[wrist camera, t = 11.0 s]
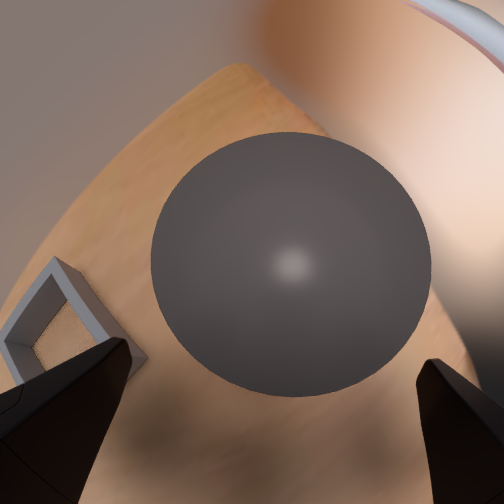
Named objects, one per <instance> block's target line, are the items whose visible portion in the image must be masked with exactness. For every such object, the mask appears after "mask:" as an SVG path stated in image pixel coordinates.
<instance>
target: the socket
mask: <svg viewBox="0 0 504 504" xmlns="http://www.w3.org/2000/svg"><path fill="white" fill-rule="evenodd" d="M67 300H68V302H69V303H70V305H71V306H72V308H73V309H74V311H75V312H76V314H77V315H78V317H79V318H80V320H81V321H82V323H83V324H84V325H85V327H86V328H87V330H88V331H89V332H90V334H91V335H92V337H93V338H94V339H95V341H96V342H97V343H98V344H100V343H102V342H104V341H106V340H107V339H109V338H111V337H114V336H116V337H121V338H124V339H126V340H127V342H128V345H129V349H130V352H131V356H132V367H131V370H130V373H129V376H128V379H129V378H130V377H131V376H132V375H133V374H134V373H135V372H136V370H137V369H138V368H139V367H140V366H141V365H142V364H143V363H144V362H145V361H146V360H147V358H148V357H147V356H146V355H145V354H144V353H143V352H142V351H141V349H140V348H139V347H138V346H137V345H136V344H135V343H134V342H133V340H132V339H131V338H130V337H129V336H128V335H127V333H126V332H125V331H124V330H123V329H122V327H121V326H120V325H119V324H118V323H117V321H116V320H115V319H114V318H113V316H112V315H111V314H110V313H109V311H108V310H107V309H106V308H105V306H104V305H103V304H102V302H101V301H100V300H99V298H98V297H97V296H96V294H95V293H94V292H93V290H92V289H91V288H90V286H89V285H88V283H87V282H86V281H85V279H84V278H83V276H82V275H81V273H80V272H79V271H77V270H76V269H74V268H72V267H71V266H69V265H68V264H66V263H65V262H63V261H61V260H60V259H58V258H57V257H55V256H54V257H53V258H52V259H51V260H50V262H49V263H48V264H47V265H46V267H45V268H44V269H43V270H42V272H41V273H40V274H39V276H38V277H37V278H36V280H35V281H34V282H33V284H32V285H31V286H30V288H29V289H28V291H27V292H26V293H25V295H24V296H23V298H22V299H21V300H20V302H19V303H18V305H17V306H16V308H15V309H14V311H13V312H12V314H11V315H10V317H9V318H8V320H7V321H6V323H5V325H4V326H3V328H2V329H1V331H0V351H1V353H2V355H3V358H4V360H5V362H6V364H7V366H8V368H9V371H10V373H11V375H12V377H13V379H14V381H15V382H16V384H17V386H18V385H20V384H22V383H25V382H26V381H28V380H30V379H32V378H34V377H36V376H38V375H40V374H42V373H44V372H45V370H44V369H43V367H42V365H41V364H40V362H39V360H38V358H37V356H36V355H35V353H34V351H33V349H32V346H33V344H34V343H35V342H36V340H37V339H38V337H39V336H40V335H41V333H42V332H43V331H44V329H45V328H46V327H47V325H48V324H49V323H50V321H51V320H52V319H53V317H54V316H55V315H56V313H57V312H58V311H59V310H60V308H61V307H62V306H63V305H64V303H65V302H66V301H67ZM128 379H127V380H128Z"/></svg>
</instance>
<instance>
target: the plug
mask: <svg viewBox="0 0 504 504" xmlns="http://www.w3.org/2000/svg"><path fill="white" fill-rule="evenodd" d="M151 274H152V281H153V287H154V292H155V295H156V298H157V301H158V304H159V308H160V310H161V312H162V314H163V316H164V318H165V320H166V322H167V324H168V326H169V328H170V329H171V330H172V332H173V333H174V335H175V336H176V338H177V339H178V341H179V342H180V343H181V344H182V345H183V347H184V348H185V349H186V350H187V351H188V352H189V353H190V354H191V355H192V356H193V357H194V358H195V359H196V360H197V361H199V362H200V363H201V364H202V365H203V366H205V367H206V368H207V369H208V370H210V371H211V372H213V373H215V374H216V375H218V376H220V377H221V378H223V379H225V380H227V381H228V382H230V383H233V384H235V385H238V386H240V387H243V388H245V389H248V390H251V391H255V392H259V393H263V394H268V395H273V396H284V397H305V396H317V395H322V394H326V393H330V392H335V391H338V390H341V389H344V388H346V387H349V386H351V385H354V384H356V383H358V382H360V381H362V380H364V379H365V378H367V377H369V376H371V375H372V374H374V373H376V372H377V371H378V370H379V369H381V368H382V367H383V366H384V365H386V364H387V363H388V362H389V361H390V360H392V358H393V357H394V356H395V355H396V354H397V353H398V352H399V351H400V350H401V349H402V348H403V346H404V345H405V344H406V342H407V341H408V339H409V338H410V337H411V335H412V333H413V332H414V330H415V329H416V327H417V325H418V322H419V320H420V318H421V316H422V314H423V311H424V308H425V305H426V302H427V298H428V294H429V288H430V282H431V254H430V246H429V241H428V237H427V233H426V230H425V227H424V224H423V222H422V219H421V216H420V214H419V212H418V210H417V208H416V206H415V204H414V203H413V201H412V199H411V198H410V196H409V195H408V193H407V192H406V191H405V189H404V188H403V187H402V185H401V184H400V183H399V182H398V181H397V180H396V178H395V177H394V176H393V175H392V174H391V173H390V172H388V171H387V170H386V169H385V168H384V167H383V166H382V165H380V164H379V163H378V162H377V161H375V160H374V159H372V158H371V157H370V156H368V155H366V154H365V153H363V152H361V151H359V150H358V149H356V148H354V147H352V146H349V145H347V144H345V143H342V142H340V141H337V140H334V139H331V138H327V137H324V136H319V135H314V134H307V133H297V132H278V133H269V134H262V135H257V136H253V137H249V138H245V139H242V140H239V141H237V142H234V143H231V144H229V145H227V146H225V147H223V148H221V149H219V150H217V151H215V152H214V153H212V154H211V155H209V156H207V157H206V158H204V159H203V160H202V161H201V162H199V163H198V164H197V165H196V166H194V167H193V168H192V169H191V170H190V171H189V172H188V173H187V174H186V175H185V176H184V177H183V178H182V179H181V181H180V182H179V183H178V184H177V186H176V187H175V188H174V190H173V191H172V192H171V194H170V196H169V197H168V199H167V201H166V203H165V204H164V206H163V209H162V211H161V213H160V216H159V218H158V221H157V224H156V228H155V231H154V235H153V241H152V248H151Z"/></svg>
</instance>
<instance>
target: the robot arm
mask: <svg viewBox="0 0 504 504" xmlns="http://www.w3.org/2000/svg"><path fill="white" fill-rule="evenodd" d="M131 367H132V356H131V352H130V349H129V345H128V342H127V340H126V339H124V338H121V337H116V336H114V337H111V338H109V339H107V340H106V341H104V342H102V343H100V344H98V345H96V346H94V347H92V348H90V349H88V350H86V351H85V352H83V353H81V354H79V355H77V356H75V357H73V358H71V359H69V360H67V361H65V362H63V363H61V364H59V365H58V366H56V367H54V368H52V369H50V370H48V371H46V372H44V373H42V374H40V375H38V376H36V377H34V378H32V379H30V380H28V381H26V382H25V383H22V384H20V385H18V386H16V387H14V388H12V389H10V390H8V391H6V392H4V393H2V394H0V504H78V502H79V499H80V497H81V494H82V491H83V489H84V486H85V484H86V481H87V478H88V476H89V473H90V471H91V468H92V466H93V463H94V461H95V459H96V456H97V454H98V451H99V449H100V447H101V444H102V442H103V440H104V437H105V435H106V433H107V430H108V428H109V426H110V423H111V421H112V419H113V417H114V415H115V412H116V410H117V408H118V405H119V403H120V400H121V397H122V394H123V391H124V388H125V385H126V382H127V379H128V376H129V373H130V370H131ZM416 388H417V395H418V403H419V411H420V420H421V427H422V432H423V437H424V442H425V447H426V453H427V458H428V464H429V471H430V478H431V485H432V494H433V503H434V504H504V408H503V407H502V406H500V405H499V404H498V403H496V402H495V401H494V400H493V399H491V398H490V397H489V396H488V395H486V394H485V393H484V392H482V391H481V390H480V389H478V388H477V387H476V386H475V385H473V384H472V383H471V382H469V381H468V380H467V379H465V378H464V377H463V376H461V375H460V374H459V373H458V372H456V371H455V370H454V369H452V368H451V367H450V366H448V365H447V364H446V363H444V362H443V361H442V360H440V359H438V358H435V359H428V360H427V361H425V363H424V365H423V367H422V369H421V371H420V373H419V375H418V377H417V380H416Z"/></svg>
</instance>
